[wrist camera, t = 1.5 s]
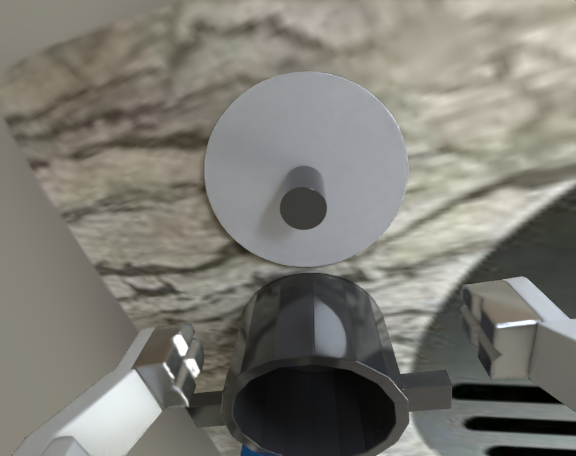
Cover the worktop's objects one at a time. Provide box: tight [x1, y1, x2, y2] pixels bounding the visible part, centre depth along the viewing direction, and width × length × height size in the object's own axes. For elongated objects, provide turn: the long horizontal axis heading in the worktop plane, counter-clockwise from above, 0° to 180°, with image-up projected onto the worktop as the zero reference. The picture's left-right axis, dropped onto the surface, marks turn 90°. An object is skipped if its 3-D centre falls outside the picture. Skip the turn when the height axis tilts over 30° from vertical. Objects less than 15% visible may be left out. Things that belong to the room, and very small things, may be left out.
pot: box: [185, 273, 452, 456], centre depth 23 cm, size 12×17×7 cm
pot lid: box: [204, 71, 408, 267], centre depth 18 cm, size 12×12×5 cm
